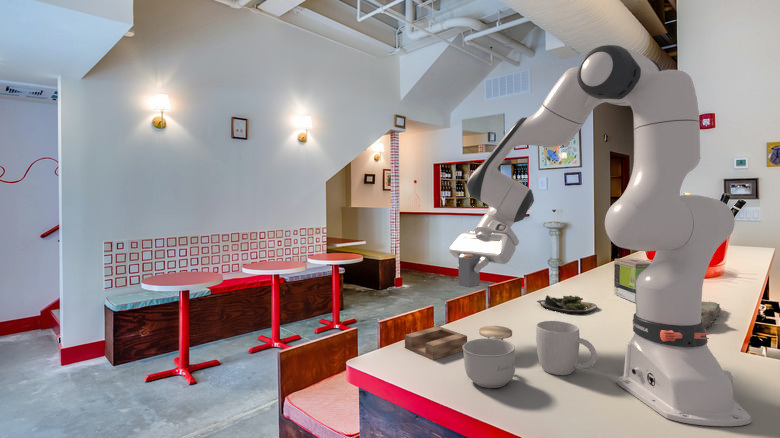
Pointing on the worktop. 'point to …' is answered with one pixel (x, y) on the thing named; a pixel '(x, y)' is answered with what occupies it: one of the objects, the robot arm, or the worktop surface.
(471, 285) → the grey knobbed block
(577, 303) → the salad plate
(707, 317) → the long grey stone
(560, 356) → the mug
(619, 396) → the worktop surface
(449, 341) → the notch board
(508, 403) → the worktop surface
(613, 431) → the worktop surface
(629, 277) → the tea box
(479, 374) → the teacup
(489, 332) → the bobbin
